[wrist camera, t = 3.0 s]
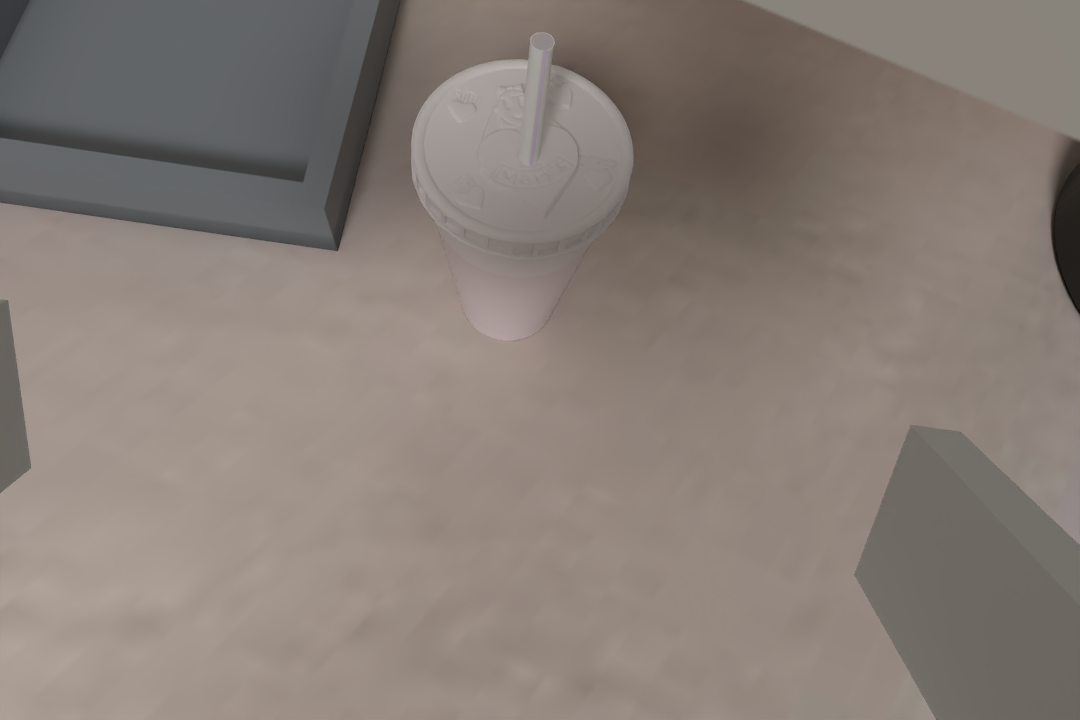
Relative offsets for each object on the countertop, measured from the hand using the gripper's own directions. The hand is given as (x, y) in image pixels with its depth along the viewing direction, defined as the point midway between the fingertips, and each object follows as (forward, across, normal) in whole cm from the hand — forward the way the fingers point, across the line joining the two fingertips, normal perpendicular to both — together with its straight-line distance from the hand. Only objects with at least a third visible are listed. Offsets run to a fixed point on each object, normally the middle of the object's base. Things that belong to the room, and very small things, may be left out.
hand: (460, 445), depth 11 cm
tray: (+25, -15, +3) cm, 29 cm away
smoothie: (+19, 0, -4) cm, 19 cm away
